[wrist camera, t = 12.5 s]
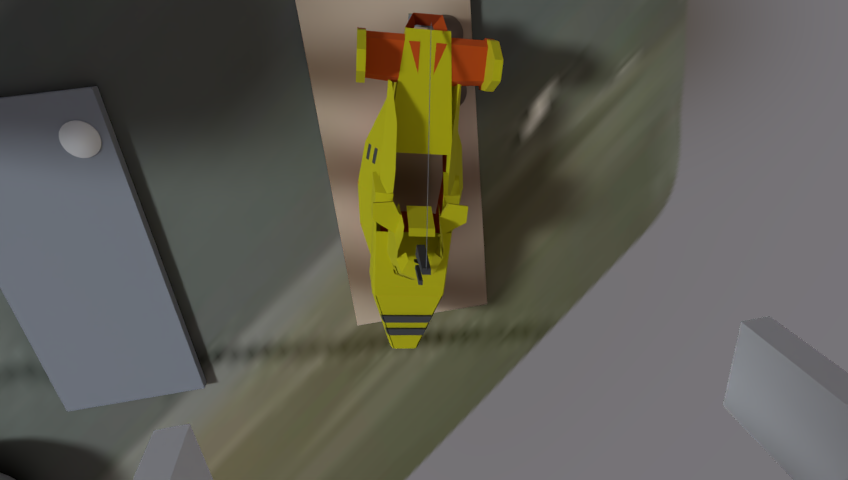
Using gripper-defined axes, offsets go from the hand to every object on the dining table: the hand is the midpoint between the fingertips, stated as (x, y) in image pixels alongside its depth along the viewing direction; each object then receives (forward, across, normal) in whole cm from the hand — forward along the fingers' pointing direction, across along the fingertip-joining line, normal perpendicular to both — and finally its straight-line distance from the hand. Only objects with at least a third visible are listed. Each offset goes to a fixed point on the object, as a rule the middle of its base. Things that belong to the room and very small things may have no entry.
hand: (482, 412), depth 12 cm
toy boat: (+20, +1, -1) cm, 20 cm away
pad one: (+21, -20, -4) cm, 29 cm away
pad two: (+20, 0, 0) cm, 20 cm away
